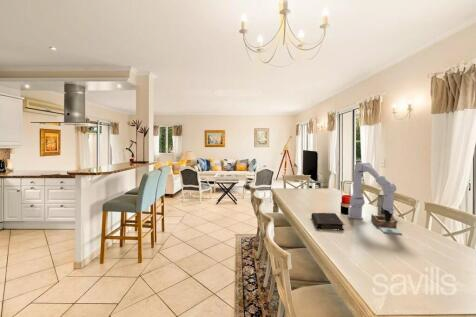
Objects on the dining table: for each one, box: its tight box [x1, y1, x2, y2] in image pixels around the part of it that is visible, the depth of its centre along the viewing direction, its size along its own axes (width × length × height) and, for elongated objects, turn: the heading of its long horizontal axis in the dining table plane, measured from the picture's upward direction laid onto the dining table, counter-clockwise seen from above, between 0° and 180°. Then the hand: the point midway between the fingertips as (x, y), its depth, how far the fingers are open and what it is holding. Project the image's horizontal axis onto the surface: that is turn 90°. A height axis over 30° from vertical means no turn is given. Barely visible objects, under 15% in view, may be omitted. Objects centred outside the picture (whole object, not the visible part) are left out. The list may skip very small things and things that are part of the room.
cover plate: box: [378, 226, 403, 236], centre depth 159 cm, size 10×11×2 cm
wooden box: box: [370, 213, 398, 229], centre depth 172 cm, size 12×13×5 cm
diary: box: [311, 212, 345, 231], centre depth 174 cm, size 19×25×5 cm
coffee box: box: [377, 194, 394, 217], centre depth 196 cm, size 9×6×16 cm
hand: (387, 221), depth 164 cm, fingers closed
